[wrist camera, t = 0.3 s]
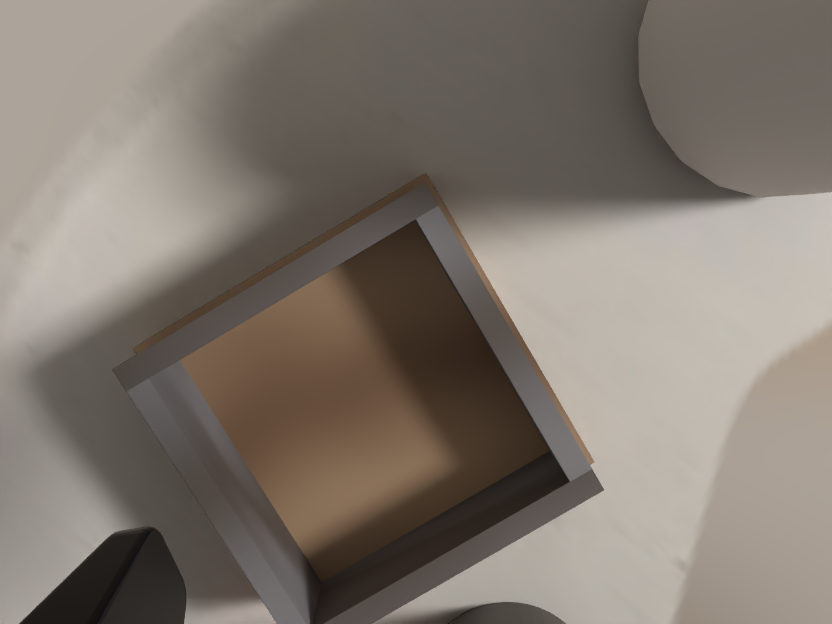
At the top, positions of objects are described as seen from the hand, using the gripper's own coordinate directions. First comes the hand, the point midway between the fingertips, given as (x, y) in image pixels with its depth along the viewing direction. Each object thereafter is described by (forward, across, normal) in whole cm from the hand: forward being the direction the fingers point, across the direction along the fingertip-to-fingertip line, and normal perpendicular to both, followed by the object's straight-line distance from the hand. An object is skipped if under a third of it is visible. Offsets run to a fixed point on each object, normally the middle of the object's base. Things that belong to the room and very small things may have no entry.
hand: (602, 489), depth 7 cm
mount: (+12, +4, +7) cm, 14 cm away
